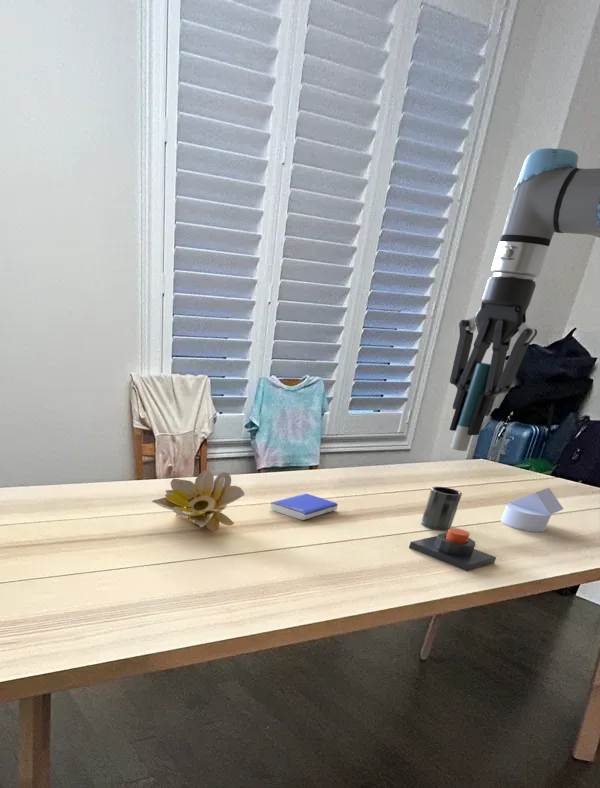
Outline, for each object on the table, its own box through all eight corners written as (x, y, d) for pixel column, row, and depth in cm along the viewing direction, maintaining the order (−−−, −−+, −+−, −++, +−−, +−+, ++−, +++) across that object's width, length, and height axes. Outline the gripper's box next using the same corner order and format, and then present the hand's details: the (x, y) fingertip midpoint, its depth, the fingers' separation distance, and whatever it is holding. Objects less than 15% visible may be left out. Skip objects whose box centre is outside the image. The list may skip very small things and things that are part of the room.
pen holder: (455, 528, 128) (467, 493, 124) (439, 532, 124) (451, 496, 120) (431, 520, 131) (442, 485, 127) (415, 523, 128) (425, 488, 124)
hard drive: (305, 512, 121) (338, 503, 129) (270, 501, 125) (304, 492, 133) (303, 520, 122) (336, 510, 130) (269, 509, 126) (303, 500, 134)
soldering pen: (469, 450, 118) (497, 365, 110) (461, 451, 116) (488, 365, 108) (455, 446, 120) (482, 362, 112) (447, 447, 118) (473, 362, 110)
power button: (470, 543, 112) (473, 533, 111) (459, 546, 110) (462, 536, 109) (452, 536, 114) (455, 527, 113) (441, 539, 112) (444, 529, 111)
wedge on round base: (516, 512, 143) (494, 521, 135) (528, 482, 140) (506, 489, 131) (557, 524, 139) (536, 534, 130) (570, 493, 135) (550, 501, 127)
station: (494, 563, 112) (500, 547, 110) (466, 571, 107) (472, 554, 105) (436, 541, 119) (441, 525, 118) (408, 548, 114) (413, 531, 113)
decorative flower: (136, 504, 113) (152, 447, 108) (178, 511, 121) (195, 457, 117) (193, 536, 105) (212, 476, 101) (234, 541, 114) (254, 485, 109)
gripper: (457, 271, 106) (415, 423, 119) (549, 278, 96) (492, 443, 109) (481, 276, 110) (438, 422, 123) (571, 283, 100) (514, 441, 114)
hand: (463, 432), depth 116 cm, fingers closed on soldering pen, 3 cm apart
